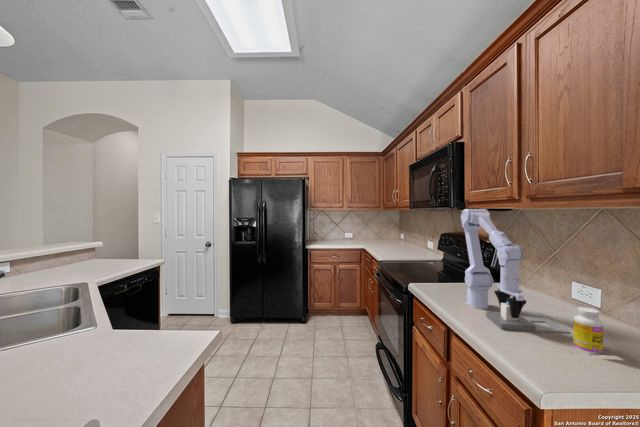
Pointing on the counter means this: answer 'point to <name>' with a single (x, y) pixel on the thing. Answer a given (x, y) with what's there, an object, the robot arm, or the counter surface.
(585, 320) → the supplement bottle
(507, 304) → the plug block
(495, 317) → the jack panel
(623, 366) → the counter surface
